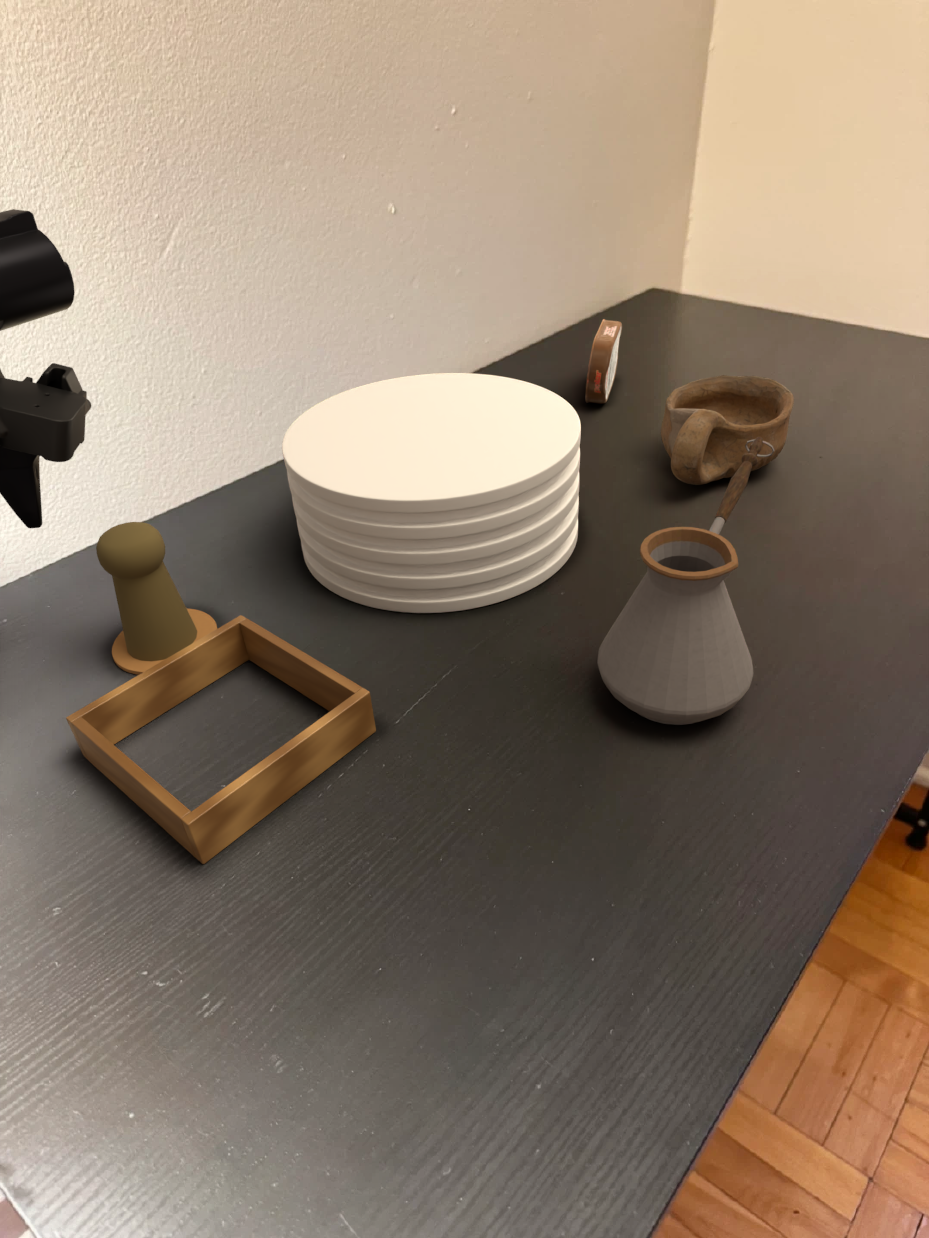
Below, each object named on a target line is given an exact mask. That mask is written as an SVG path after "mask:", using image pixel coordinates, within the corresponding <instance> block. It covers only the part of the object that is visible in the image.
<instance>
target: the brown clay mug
mask: <svg viewBox="0 0 929 1238" xmlns="http://www.w3.org/2000/svg"><path fill="white" fill-rule="evenodd" d="M794 403H795V398H794V394H793V393H792V391H791V390H789V388H787V387H786V386H785V385H783V384H782V383H780V382H779V381H777V380H776V379H772V378H769V377H765V376H759V375H741V376H739V375H727V374H726V375H725V374H721V375H716V376H710V377H705V378H699V379H697V380H693V381H690V382H687V383H686V384H683V385H681V386H679V387H677V388H675V389H674V390H672V391H671V393H670V394H669V395H668V397H667V398H666V400H665V406H664V413H663V418H662V421H661V427H660V438H661V442H662V444H663V447H664V449H665V451H666V453H667V455H668V456H669V458H670V468H671V472H672V474H673V476H674V477H675V478H676V479H677V480H679V481H681V482H682V483H685V484H687V485H688V484H689V485H695V486H701V485H707V484H709V483H711V482H716V481H719V480H722V479H728V478H732V477H733V475H734V474H735V473H736V471H737V470H738V469H739V467H740V466H741V464H742V460H741V459H742V456H743V455H744V454H748V451H747V450H746V447H745V445H746V443H747V441H749V440H753V439H756V438H757V437H761V438H763V441H766V442H768V443H769V444H771V445H772V446H773V448H774V452H773V451H772V449H771V447H769V446H768V445H766V444H764V443H762V448H761V451H760V452H759V453H758V454H759V455H768V454H771V453H772V452H773V454H772V456H769V457H757V456H756V457H757V460H758V462H757V464H756V465H755V466H753V467H752V468H751V471H750V472H753V471H756V470H760V469H761V468H762V467H764V466H767V465H768V464H770V462H772V461H774V460H775V459H776V458H777V457H778V456H779V454H780V453H781V452H782V450H783V449H784V446H785V444H786V441H787V437H788V431H789V425H790V419H791V418H790V417H791V413H792V411H793V409H794ZM752 443H753V442H750V443H748V444H747V446H748V449H749V448H750V445H751V444H752Z"/></svg>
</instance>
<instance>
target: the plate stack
mask: <svg viewBox="0 0 929 1238" xmlns="http://www.w3.org/2000/svg"><path fill="white" fill-rule="evenodd" d="M581 424H582V423H581V419H580V417H579V414H578V412H577V411H576V409H575V408H574V407H573V405H571V404H570V403H569V402H568V401H567V400H566V399H564V398H563V397H561V396H560V395H559V394H557V393H555V392H553V391H551V390H550V389H547V388H545V387H543V386H540V385H537V384H535V383H531V382H528V381H524V380H520V379H516V378H513V377H507V376H501V375H495V374H485V373H471V372H440V373H439V372H438V373H425V374H424V373H423V374H415V375H406V376H399V377H393V378H388V379H383V380H378V381H374V382H371V383H370V382H369V383H366V384H364V385H360V386H356V387H353V388H349V389H347V390H344V391H342V392H339V393H336V394H334V395H331V396H329V397H328V398H325V399H324V400H321V401H320V402H318V403H316V404H314V405H312V406H311V407H310V408H308V409H306V410H305V411H304V412H302V413H301V414H300V415H299V416H297V418H296V419H294V421H293V422H292V423H291V424H290V425H289V427H288V428H287V430H286V431H285V433H284V436H283V439H282V443H281V452H282V457H283V460H284V462H283V463H284V465H285V469H286V477H287V482H288V487H289V491H290V493H291V501H292V508H293V512H294V514H295V518H296V526H297V530H298V535H299V539H300V546H301V551H302V557H303V560H304V563H305V565H306V567H307V569H308V570H309V573H311V575H312V576H313V577H314V579H316V581H317V582H319V584H321V585H322V586H323V587H324V588H326V589H327V590H329V591H330V592H332V593H333V594H336V595H337V596H339V597H341V598H343V599H346V600H348V601H351V602H353V603H356V604H359V605H363V606H365V607H370V608H374V609H378V610H383V611H390V612H397V613H410V614H411V613H412V614H440V613H452V612H460V611H466V610H467V611H468V610H473V609H478V608H482V607H487V606H489V605H494V604H498V603H500V602H503V601H507V600H510V599H513V598H515V597H517V596H520V595H522V594H524V593H526V592H529V591H530V590H533V589H535V588H536V587H538V586H539V585H541V584H543V583H544V582H546V581H547V580H549V579H550V578H551V577H553V576H554V575H555V574H556V573H557V572H558V571H560V569H562V567H563V566H564V565H565V564H566V563H567V562H568V561H569V559H570V558H571V556H572V554H573V552H574V550H575V548H576V545H577V542H578V536H579V509H580V508H579V507H580V501H579V500H580V497H579V496H580V495H579V492H580V466H581V463H580V462H581V448H580V444H581V437H582V436H581V433H582V425H581Z"/></svg>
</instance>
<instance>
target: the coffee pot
mask: <svg viewBox="0 0 929 1238" xmlns="http://www.w3.org/2000/svg"><path fill="white" fill-rule="evenodd" d="M750 442H753V443H752V444H751V445H750V448H749V449H748V446H747V444H748V443H750ZM762 443H764V444H766V445H768V446H769V447H771V449H772V451H773V452H774V448H773V446H772V445H771V444H769V443H768V442H766V441H763V438H761V437H757V438H756V439H753V440H749V441H747V443H746V445H745V447H746V450H747V451H748V454H744V455H743V456H742V459H741V460H742V464H741V466H740V467H739V469H738V470H737V471H736V473H735V474H734V475H733V476H732V477H730V479H729V483H728V485H727V488H726V490H725V492H724V495H723V497H722V499H721V502H720V504H719V506H718V509H717V511H716V514H715V516H714V520H713V522H712V524H711V526H710V528H709V530H707V529H705V528H698V527H693V526H674V527H673V526H671V527H666V528H662V529H659V530H656V531H654V532H652V533H650V534H649V535H648V536H646V537H645V538H644V539H643V541H642V543H641V544H640V546H639V556H640V558H641V560H642V562H643V563H644V564H645V565H646V570H647V571H646V573H645V574H644V576H643V577H642V579H641V580H640V581H639V583H638V585H637V586H636V588H635V589H634V591H633V592H632V594H631V596H630V597H629V599H628V600H627V602H626V603H625V605H624V607H623V608H622V610H621V612H620V613H619V614H618V617H617V618H616V619H615V621H614V623H613V624H612V626H611V627H610V629H609V631H607V633H606V635H605V637H604V639H603V641H602V642H601V644H600V646H599V647H598V652H597V660H596V661H597V662H596V663H597V668H598V670H599V673H600V676H601V680H602V681H603V683H604V685H605V686H606V688H607V690H608V691H609V693H611V695H612V696H613V698H614V699H615V700H617V701H618V702H620V703H621V704H622V705H624V707H626V708H627V709H629V710H630V711H632V712H635V713H637V714H638V715H639V716H641V717H643V718H646V719H647V720H649V721H653V722H657V723H660V724H665V725H675V726H682V725H692V724H695V723H699V722H704V721H706V720H709V719H712V718H716V717H719V716H722V714H724V713H726V712H729V710H731V709H733V708H734V707H735V706H736V705H737V704H738V703H739V702H740V701H741V700H742V699H743V697H744V696H746V695H745V694H746V693H747V692H748V691H749V690H750V688H751V684H752V681H753V678H754V666H753V659H752V656H751V653H750V650H749V647H748V645H747V642H746V639H745V636H744V633H743V630H742V628H741V625H740V623H739V620H738V619H739V618H738V617H737V614H736V611H735V608H734V606H733V602H732V599H731V598H730V594H729V592H728V589H727V586H726V583H725V581H724V580H725V579H726V578H727V577H728V576H729V575H730V574H731V573H732V572H733V571H735V570H736V569H738V568H739V558H738V555H737V551H736V549H735V547H734V546H733V544H732V543H731V542H730V541H729V540H728V539H727V538H725V537H724V536H722V535H721V532H722V530H723V528H724V525H725V523H727V521H728V519H729V517H730V516H731V514H732V512H733V511H734V509H735V507H736V505H737V503H738V501H739V500H740V498H741V497H742V494H743V493H744V491H745V489H746V488H747V485H748V482H749V477H750V474H751V472H752V471H751V468H752V467H753V466H755V465H756V464H757V462H758V460H757V457H769V456H772V454H773V452H772V453H771V454H768V455H759V454H758V453H759V452H760V451H761V448H762ZM756 456H757V457H756Z"/></svg>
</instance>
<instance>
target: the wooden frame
mask: <svg viewBox="0 0 929 1238" xmlns="http://www.w3.org/2000/svg"><path fill="white" fill-rule="evenodd" d="M217 628H218V629H216V630H214V631H213V632H211V633H209V634H208V635H206V636H204V637H202V638H201V639H199V640H197V641H196V642H194V643H192V644H191V645H189V646H187V647H185V648H184V649H182V650H180V651H179V652H177V653H175V654H173V655H172V656H170V657H168V658H167V659H165V660H163V661H162V662H160V663H158V664H156V665H155V666H153V667H151V668H150V669H148V670H146V671H145V672H143V673H141V674H139V675H136V676H134V677H133V678H131V679H129V680H128V681H125V682H124V683H122V684H121V685H118V686H117V687H115V688H114V689H112V690H110V691H109V692H106V693H105V694H103V695H101V696H100V697H98V698H97V699H95V700H94V701H92V702H90V703H88V704H87V705H85V706H83V707H81V708H79V709H78V710H77V711H75V712H73V713H71V714H69V715H68V716H66V717H65V719H66V721H67V724H68V726H69V728H70V730H71V732H72V735H73V736H74V739H75V741H76V743H77V746H78V747H79V749H80V752H81V754H82V756H83V757H84V758H85V759H86V760H87V761H88V762H89V763H90V764H92V765H93V766H94V767H95V768H96V769H97V770H98V771H99V772H101V773H102V775H104V776H105V777H106V778H107V780H109V781H110V782H111V783H113V785H114V786H116V787H117V788H118V789H119V790H120V792H122V793H124V795H126V797H128V798H129V799H130V800H131V801H132V802H134V803H135V804H136V806H137V807H139V808H140V809H141V810H142V811H143V812H144V813H145V814H147V815H148V816H149V817H150V818H151V819H152V820H153V821H154V822H155V823H156V824H158V825H159V826H160V827H161V828H162V829H163V830H164V831H165V832H166V833H168V835H170V836H171V837H172V838H173V839H174V840H175V841H176V842H177V843H178V844H179V845H180V846H182V847H183V848H184V849H185V850H186V851H187V852H188V853H190V854H191V855H192V856H193V857H194V858H195V859H196V860H197V861H198V862H200V863H201V864H202V865H205V864H207V863H208V862H209V861H210V860H212V859H213V858H214V857H215V856H217V855H218V854H219V853H220V852H222V851H223V850H225V848H226V849H227V847H229V846H230V845H231V844H232V843H233V842H235V841H236V840H237V839H239V838H240V837H242V836H243V835H244V834H245V833H246V832H248V831H249V830H250V829H252V828H253V827H254V826H255V825H257V824H258V823H260V822H261V821H262V820H264V818H266V817H268V815H270V814H271V813H273V812H274V811H275V810H277V808H279V807H280V806H281V805H283V804H284V803H285V802H287V801H288V800H289V799H290V798H292V797H293V796H294V795H295V794H297V793H299V791H301V790H302V789H304V787H306V786H307V785H309V784H310V783H311V782H312V781H314V780H315V779H317V778H318V777H319V776H320V775H322V774H323V773H324V772H325V771H326V770H328V769H330V768H331V767H332V766H333V765H335V764H336V763H337V762H338V761H340V760H341V759H342V758H343V757H345V756H346V755H347V754H348V753H350V752H351V751H352V750H354V749H355V748H357V747H358V746H359V745H360V744H362V743H363V742H364V741H365V740H367V739H368V738H369V737H370V736H372V735H373V734H374V733H376V732H377V727H376V721H375V715H374V710H373V704H372V703H373V702H372V696H371V692H370V691H369V690H367V689H366V688H365V687H363V686H361V685H359V684H357V682H355V681H353V680H351V679H349V678H348V677H346V676H344V675H343V674H341V673H339V672H337V671H335V670H334V669H333V668H331V667H329V666H327V665H326V664H325V663H323V662H321V661H319V660H318V659H316V658H314V657H312V655H309V654H308V653H306V652H304V651H303V650H301V649H299V648H297V647H296V646H294V645H293V644H291V643H289V642H287V641H286V640H284V639H283V638H280V636H277V635H275V634H274V633H272V632H271V631H269V630H267V629H266V628H264V627H262V626H261V625H259V624H257V623H255V622H254V621H252V620H251V619H249V618H247V617H246V616H244V615H241V614H240V615H238V616H236V617H235V618H233V619H232V620H229V621H228V622H226V623H224V624H223V625H221V626H220V627H217ZM248 661H250V662H252V663H253V664H255V665H256V666H258V667H260V668H261V669H263V670H264V671H266V672H267V673H269V674H270V675H272V676H274V677H275V678H276V679H278V680H280V681H282V682H283V683H284V684H286V685H288V686H289V687H291V688H293V689H294V690H296V691H297V692H298V693H300V694H302V695H303V696H304V697H306V698H308V699H309V700H311V701H313V702H314V703H315V704H317V705H319V706H320V707H322V708H323V709H325V710H326V711H328V712H327V713H325V714H324V715H323V716H322V717H320V718H319V719H317V720H316V721H314V722H313V723H312V724H311V725H309V726H307V727H306V728H304V729H303V730H302V731H301V732H300V733H298V734H297V735H295V736H294V737H292V738H291V739H290V740H288V741H287V742H286V743H284V744H283V745H281V746H280V747H278V748H277V749H275V750H274V751H273V752H272V753H270V754H269V755H268V756H266V757H265V758H264V759H262V760H260V761H259V762H257V764H255V765H254V766H252V767H251V768H250V769H248V770H246V771H245V772H244V773H242V774H241V775H240V776H238V777H237V778H235V779H234V780H233V781H231V782H230V783H229V784H227V785H225V787H223V788H222V789H220V790H219V791H218V792H216V793H215V794H214V795H212V796H211V797H209V798H208V799H207V800H205V801H204V802H202V803H201V804H199V805H198V806H197V807H196V808H194V809H192V810H190V809H189V808H188V807H187V806H185V804H183V803H182V802H181V801H180V800H179V799H177V798H176V796H174V795H173V794H172V793H170V791H168V789H166V788H165V787H164V786H162V784H160V783H159V782H158V781H157V780H155V779H154V778H153V777H152V776H151V775H150V774H149V773H147V772H146V771H145V770H144V769H143V768H141V767H140V766H139V765H138V764H137V763H136V762H135V761H134V760H132V759H131V758H130V757H129V756H128V755H126V754H125V753H124V752H123V751H122V750H121V749H120V748H118V747H117V746H115V745H116V744H117V743H120V741H122V740H124V739H125V738H127V737H128V736H130V735H131V734H133V733H135V732H136V731H138V730H139V729H142V728H143V727H144V726H146V725H148V724H149V723H151V722H152V721H154V720H155V719H157V718H158V717H160V716H162V715H164V714H165V713H166V712H168V711H170V710H171V709H173V708H175V707H176V706H178V705H179V704H181V703H183V702H185V700H187V699H189V698H191V697H192V696H194V695H195V694H197V693H199V692H200V691H202V690H203V689H205V688H206V687H208V686H209V685H211V684H213V683H214V682H216V681H218V680H219V679H220V678H222V677H224V676H225V675H227V674H229V673H230V672H232V671H233V670H235V669H237V668H238V667H240V666H241V665H243V664H245V663H246V662H248Z"/></svg>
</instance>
